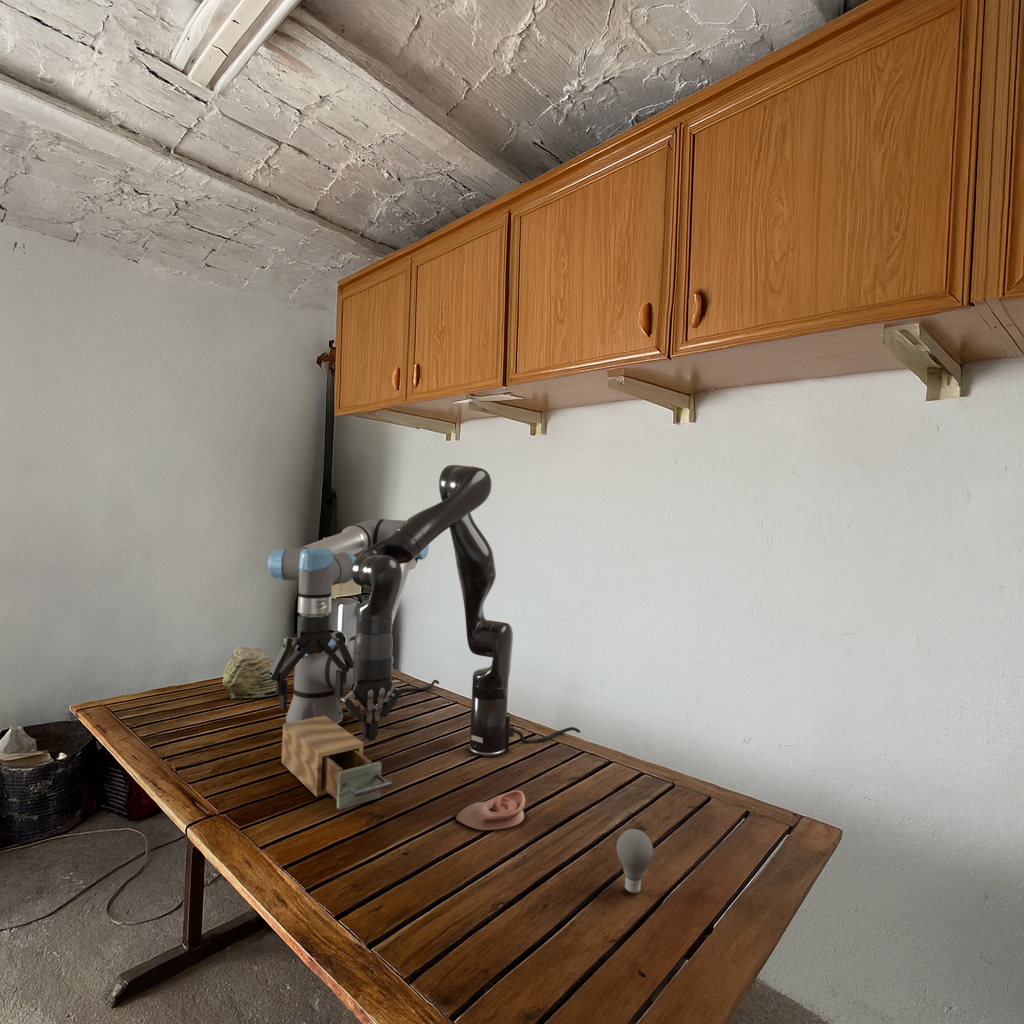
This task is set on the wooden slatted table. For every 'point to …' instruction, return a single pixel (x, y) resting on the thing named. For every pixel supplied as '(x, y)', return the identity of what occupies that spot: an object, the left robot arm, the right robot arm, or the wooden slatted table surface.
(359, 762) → the drawer
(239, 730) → the wooden slatted table surface
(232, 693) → the fossil
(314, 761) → the cabinet
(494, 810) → the anatomical model
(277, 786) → the wooden slatted table surface
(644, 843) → the light bulb
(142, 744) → the wooden slatted table surface
